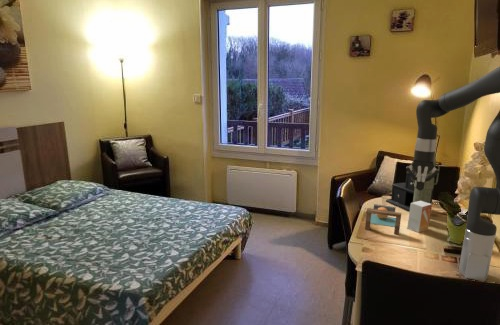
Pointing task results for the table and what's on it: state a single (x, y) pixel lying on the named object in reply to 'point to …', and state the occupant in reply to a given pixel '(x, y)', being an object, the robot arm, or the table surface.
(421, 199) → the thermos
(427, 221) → the small box
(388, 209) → the wall
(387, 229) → the table surface
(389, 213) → the bridge
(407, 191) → the black drawer cabinet
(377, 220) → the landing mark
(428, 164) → the robot arm
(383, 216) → the ball
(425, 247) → the table surface
